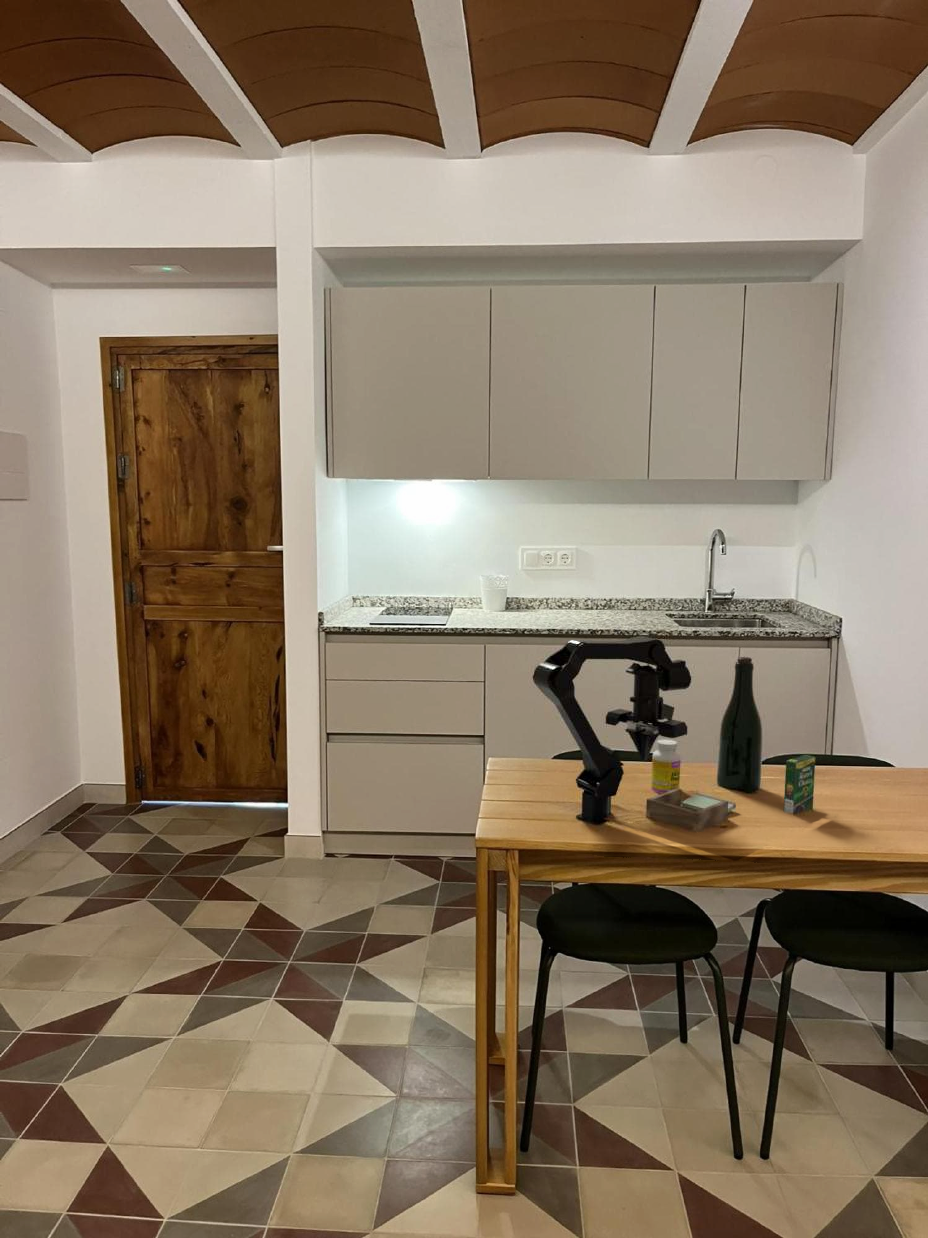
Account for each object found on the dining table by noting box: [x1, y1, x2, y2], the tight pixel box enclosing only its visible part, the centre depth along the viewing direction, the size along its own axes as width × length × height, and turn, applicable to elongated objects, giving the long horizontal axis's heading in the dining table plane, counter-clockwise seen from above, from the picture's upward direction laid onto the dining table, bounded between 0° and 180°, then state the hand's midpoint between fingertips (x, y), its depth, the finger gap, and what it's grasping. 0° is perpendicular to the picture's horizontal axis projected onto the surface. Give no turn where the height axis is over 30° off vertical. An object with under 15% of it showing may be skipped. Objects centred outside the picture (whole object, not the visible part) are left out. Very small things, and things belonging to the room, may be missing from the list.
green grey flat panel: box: [681, 792, 737, 814], centre depth 207 cm, size 1×10×6 cm
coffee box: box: [783, 754, 816, 815], centre depth 206 cm, size 8×3×13 cm, turn 127°
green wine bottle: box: [716, 656, 763, 795], centre depth 224 cm, size 10×10×33 cm
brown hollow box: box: [645, 787, 729, 833], centre depth 201 cm, size 12×13×5 cm
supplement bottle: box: [650, 739, 681, 794], centre depth 220 cm, size 7×7×13 cm
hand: (644, 760), depth 207 cm, fingers closed
